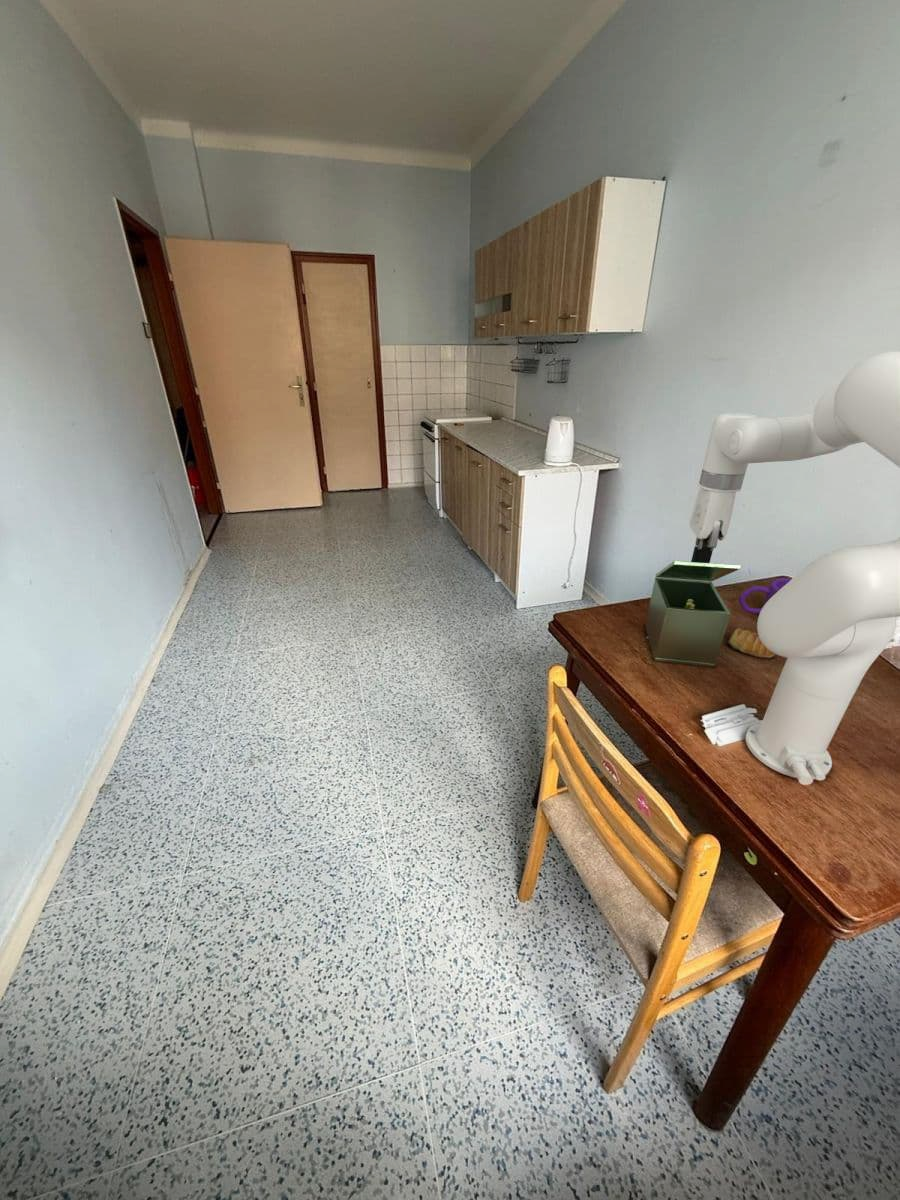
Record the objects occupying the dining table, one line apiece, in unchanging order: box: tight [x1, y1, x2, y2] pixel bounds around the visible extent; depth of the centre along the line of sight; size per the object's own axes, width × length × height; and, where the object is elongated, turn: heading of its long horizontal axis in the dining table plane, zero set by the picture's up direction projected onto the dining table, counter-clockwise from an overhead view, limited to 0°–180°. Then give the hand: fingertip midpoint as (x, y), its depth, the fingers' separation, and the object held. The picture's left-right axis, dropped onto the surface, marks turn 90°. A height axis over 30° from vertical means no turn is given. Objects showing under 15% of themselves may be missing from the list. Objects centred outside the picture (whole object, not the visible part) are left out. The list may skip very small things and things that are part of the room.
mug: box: [738, 577, 793, 614], centre depth 120 cm, size 17×11×10 cm, turn 71°
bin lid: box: [655, 560, 741, 582], centre depth 105 cm, size 16×13×1 cm
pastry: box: [727, 627, 776, 659], centre depth 110 cm, size 9×7×4 cm
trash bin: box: [644, 577, 731, 668], centre depth 110 cm, size 16×13×14 cm
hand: (699, 565), depth 102 cm, fingers closed
